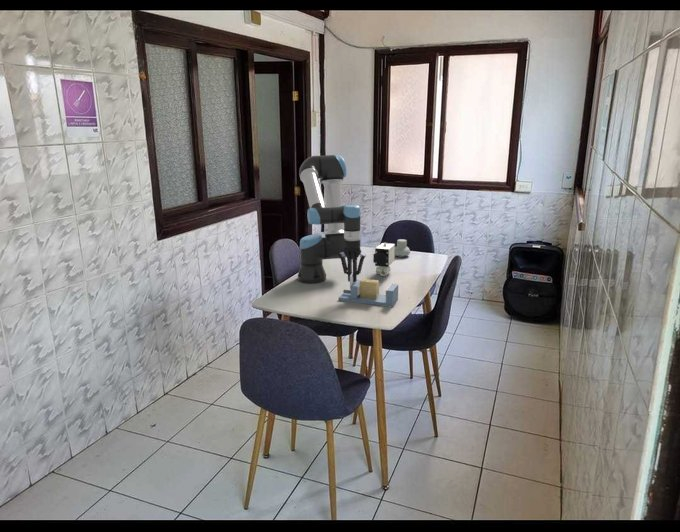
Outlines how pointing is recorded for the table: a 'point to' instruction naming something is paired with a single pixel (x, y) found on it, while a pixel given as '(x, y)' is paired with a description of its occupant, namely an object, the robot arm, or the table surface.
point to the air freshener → (402, 248)
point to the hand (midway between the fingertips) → (352, 288)
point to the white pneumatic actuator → (384, 258)
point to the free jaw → (354, 290)
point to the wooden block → (369, 289)
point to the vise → (383, 300)
